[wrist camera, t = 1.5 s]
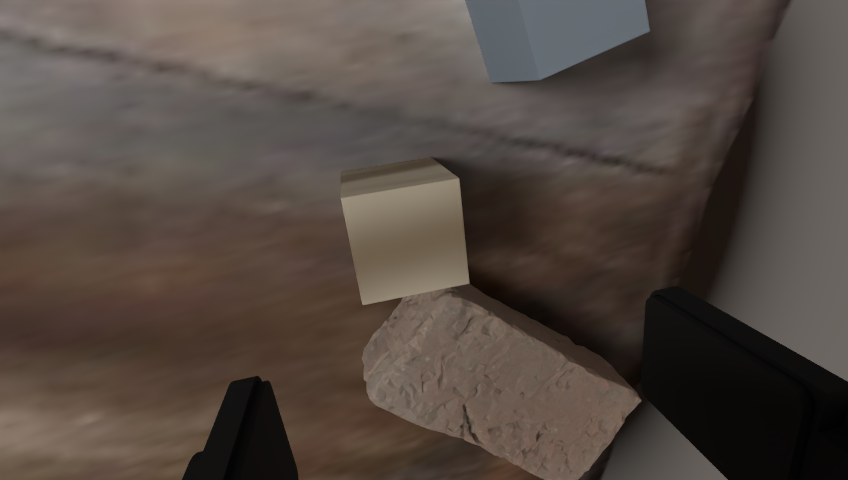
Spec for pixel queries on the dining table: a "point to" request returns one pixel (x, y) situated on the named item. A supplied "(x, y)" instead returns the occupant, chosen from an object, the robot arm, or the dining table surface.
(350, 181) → the beech block
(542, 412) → the brick
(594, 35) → the slate block
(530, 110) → the dining table surface
